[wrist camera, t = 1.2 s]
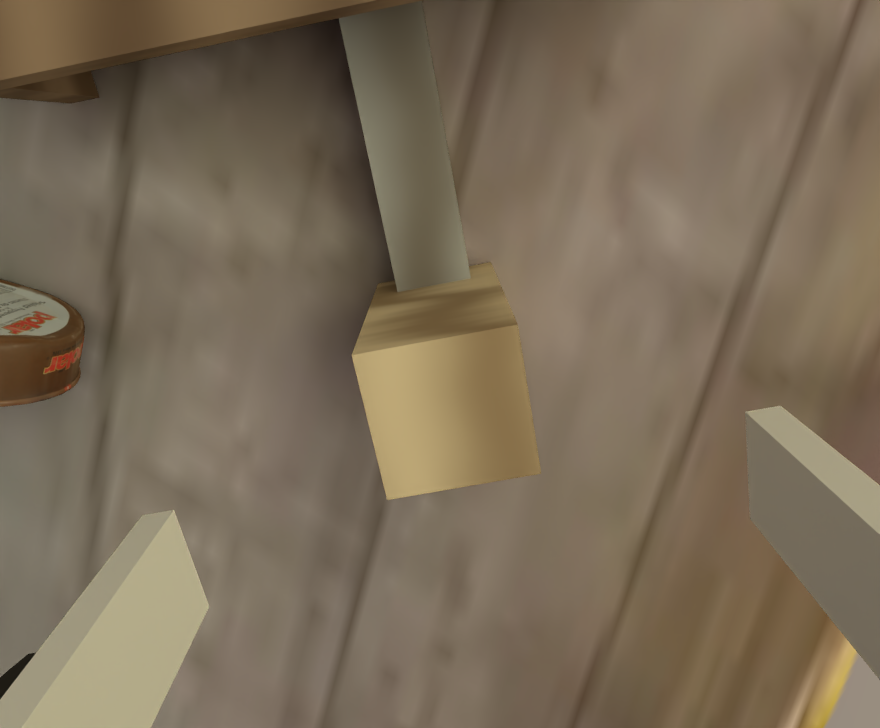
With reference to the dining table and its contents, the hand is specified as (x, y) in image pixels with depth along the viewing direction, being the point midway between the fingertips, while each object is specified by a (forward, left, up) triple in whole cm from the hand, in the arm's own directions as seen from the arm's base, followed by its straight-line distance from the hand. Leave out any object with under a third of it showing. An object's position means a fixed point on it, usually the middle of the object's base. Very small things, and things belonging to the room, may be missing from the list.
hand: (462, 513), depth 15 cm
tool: (0, +9, -16) cm, 18 cm away
